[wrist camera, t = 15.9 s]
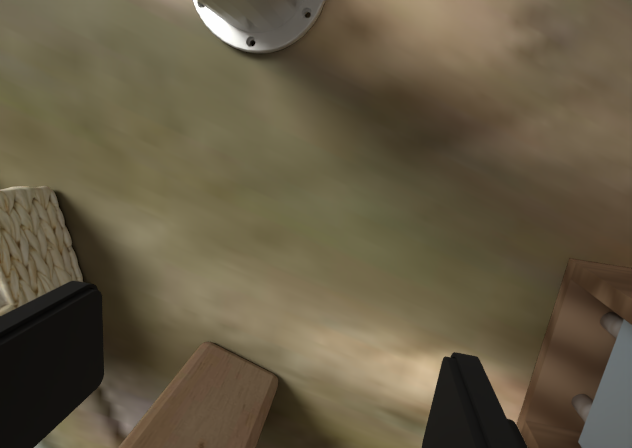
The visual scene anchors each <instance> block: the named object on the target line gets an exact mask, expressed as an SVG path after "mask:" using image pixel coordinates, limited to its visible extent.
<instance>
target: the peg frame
mask: <svg viewBox="0 0 632 448" xmlns="http://www.w3.org/2000/svg"><path fill="white" fill-rule="evenodd" d="M624 319H625V320H626V321H627V322H629V323H630V324H631V325H632V268H627V267H621V266H614V265H608V264H602V263H595V262H589V261H583V260H576V259H570V258H569V261H568V265H567V268H566V271H565V274H564V277H563V280H562V283H561V287H560V290H559V293H558V296H557V299H556V302H555V306H554V309H553V312H552V315H551V318H550V321H549V324H548V328H547V331H546V334H545V337H544V340H543V343H542V346H541V350H540V353H539V356H538V359H537V362H536V365H535V368H534V372H533V375H532V378H531V381H530V384H529V387H528V390H527V394H526V397H525V400H524V403H523V406H522V409H521V412H520V416H519V419H518V422H517V426H518V428H519V430H520V432H521V434H522V436H523V438H524V440H525V442H526V444H527V446H528V448H582V447H581V446H580V444H579V443H578V441H579V438H580V435H581V433H582V430H583V427H584V425H585V422H586V419H587V417H588V414H589V411H590V409H591V406H592V403H593V401H594V398H595V395H596V393H597V390H598V387H599V384H600V382H601V379H602V376H603V374H604V371H605V368H606V366H607V363H608V360H609V358H610V355H611V352H612V350H613V347H614V344H615V342H616V339H617V336H618V333H619V331H620V328H621V325H622V323H623V320H624Z"/></svg>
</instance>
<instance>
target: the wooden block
mask: <svg viewBox="0 0 632 448" xmlns="http://www.w3.org/2000/svg"><path fill="white" fill-rule="evenodd" d="M277 388H278V378H277V377H276V376H275V375H274V374H273V373H271V372H269V371H267V370H265V369H263V368H261V367H259V366H257V365H255V364H253V363H251V362H249V361H247V360H245V359H243V358H241V357H239V356H237V355H235V354H233V353H231V352H229V351H227V350H225V349H223V348H222V347H220V346H218V345H216V344H214V343H212V342H204V343H203V344H202V345H200V346H199V347H198V348H197V350H196V351H195V352H194V353H193V355H192V356H191V357H190V358H189V360H188V361H187V362H186V364H185V365H184V366H183V367H182V369H181V370H180V371H179V372H178V374H177V375H176V376H175V377H174V379H173V380H172V381H171V382H170V384H169V385H168V386H167V387H166V389H165V390H164V391H163V392H162V394H161V395H160V396H159V397H158V399H157V400H156V401H155V402H154V404H153V405H152V406H151V407H150V409H149V410H148V411H147V412H146V414H145V415H144V416H143V417H142V419H141V420H140V421H139V422H138V424H137V425H136V426H135V427H134V429H133V430H132V431H131V432H130V434H129V435H128V436H127V437H126V439H125V440H124V441H123V442H122V444H121V445H120V446H119V447H118V448H256V445H257V442H258V440H259V437H260V434H261V431H262V429H263V426H264V423H265V421H266V418H267V415H268V412H269V410H270V407H271V404H272V401H273V399H274V396H275V393H276V391H277Z"/></svg>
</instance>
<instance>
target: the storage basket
mask: <svg viewBox="0 0 632 448" xmlns="http://www.w3.org/2000/svg"><path fill="white" fill-rule="evenodd" d="M71 245H72V240H71V237H70V234H69V232H68V229H67V228H66V226H65V221H64V217H63V214H62V211H61V210H60V208H59V205H58V201H57V197H56V195H55V193H54V191H53V190H52V189H50V188H49V187H47V186H40V187H26V186H19V187H10V188H7V189H1V190H0V316H2V315H4V314H6V313H8V312H10V311H12V310H14V309H16V308H18V307H20V306H22V305H24V304H26V303H28V302H30V301H32V300H34V299H36V298H38V297H40V296H42V295H44V294H46V293H48V292H50V291H52V290H54V289H56V288H58V287H60V286H62V285H64V284H66V283H68V282H70V281H79V282H83V277H82V273H81V270H80V268H79V266H78V260H77V257H76V254H75V252H74V250H73V248H72V246H71Z"/></svg>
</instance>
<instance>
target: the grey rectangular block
mask: <svg viewBox="0 0 632 448" xmlns="http://www.w3.org/2000/svg"><path fill="white" fill-rule="evenodd" d="M578 443H579V444H580V446H581V447H582V448H632V325H631V324H630V323H629V322H627V321H626V320H625V319H624V320H623V323H622V325H621V328H620V331H619V333H618V336H617V339H616V342H615V344H614V347H613V350H612V352H611V355H610V358H609V360H608V363H607V366H606V368H605V371H604V374H603V376H602V379H601V382H600V384H599V387H598V390H597V393H596V395H595V398H594V401H593V403H592V406H591V409H590V411H589V414H588V417H587V419H586V422H585V425H584V427H583V430H582V433H581V435H580V438H579V441H578Z"/></svg>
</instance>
